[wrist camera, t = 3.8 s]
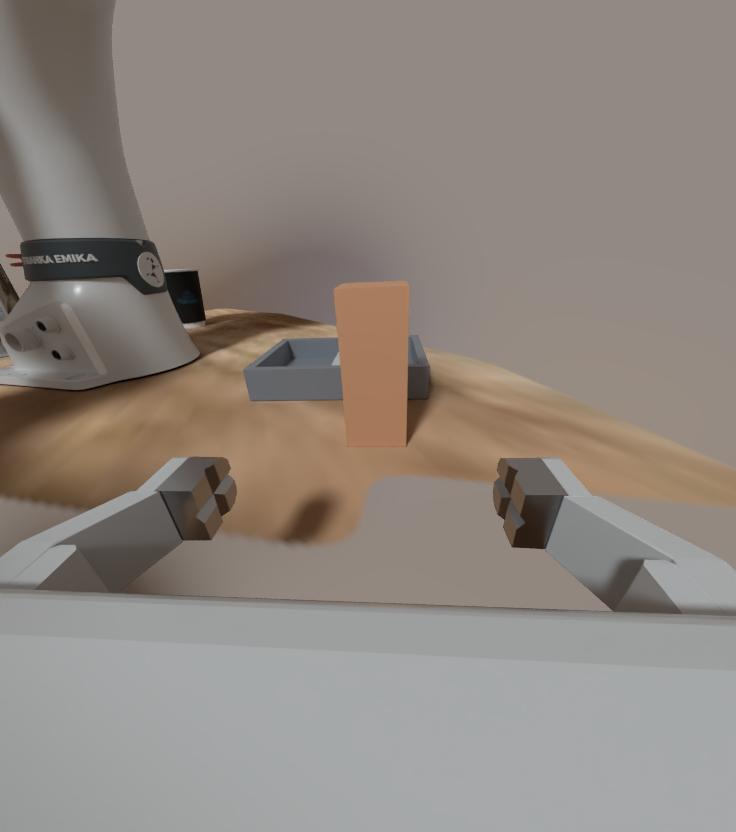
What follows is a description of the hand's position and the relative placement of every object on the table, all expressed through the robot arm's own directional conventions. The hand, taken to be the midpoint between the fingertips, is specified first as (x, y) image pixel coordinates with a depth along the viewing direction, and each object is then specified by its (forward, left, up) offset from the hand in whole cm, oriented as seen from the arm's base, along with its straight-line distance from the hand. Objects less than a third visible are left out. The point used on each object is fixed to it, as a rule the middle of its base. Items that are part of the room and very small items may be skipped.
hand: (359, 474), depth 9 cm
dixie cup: (-41, +57, -6) cm, 71 cm away
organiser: (-4, +23, -6) cm, 24 cm away
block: (0, +12, -6) cm, 13 cm away
